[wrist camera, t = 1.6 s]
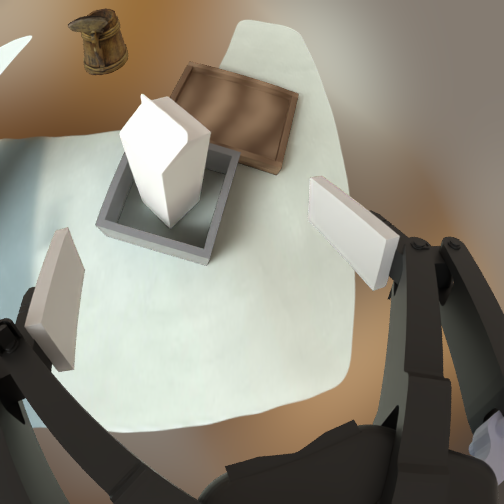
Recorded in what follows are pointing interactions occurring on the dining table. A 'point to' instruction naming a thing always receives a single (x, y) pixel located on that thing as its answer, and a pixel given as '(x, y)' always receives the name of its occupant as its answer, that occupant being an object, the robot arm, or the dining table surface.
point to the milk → (166, 157)
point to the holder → (108, 224)
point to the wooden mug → (101, 41)
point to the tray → (239, 113)
